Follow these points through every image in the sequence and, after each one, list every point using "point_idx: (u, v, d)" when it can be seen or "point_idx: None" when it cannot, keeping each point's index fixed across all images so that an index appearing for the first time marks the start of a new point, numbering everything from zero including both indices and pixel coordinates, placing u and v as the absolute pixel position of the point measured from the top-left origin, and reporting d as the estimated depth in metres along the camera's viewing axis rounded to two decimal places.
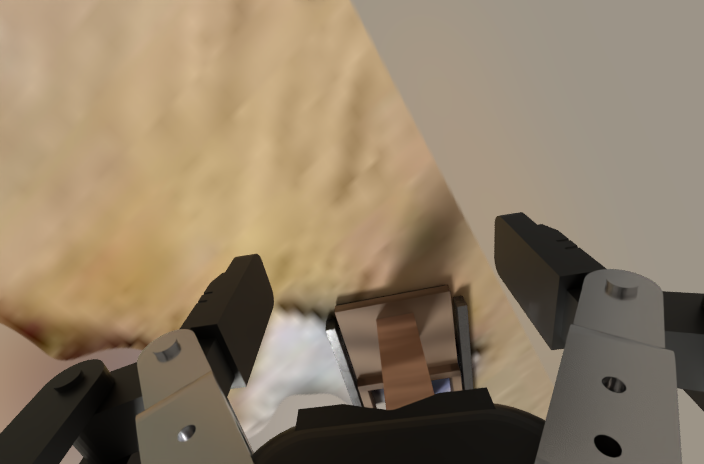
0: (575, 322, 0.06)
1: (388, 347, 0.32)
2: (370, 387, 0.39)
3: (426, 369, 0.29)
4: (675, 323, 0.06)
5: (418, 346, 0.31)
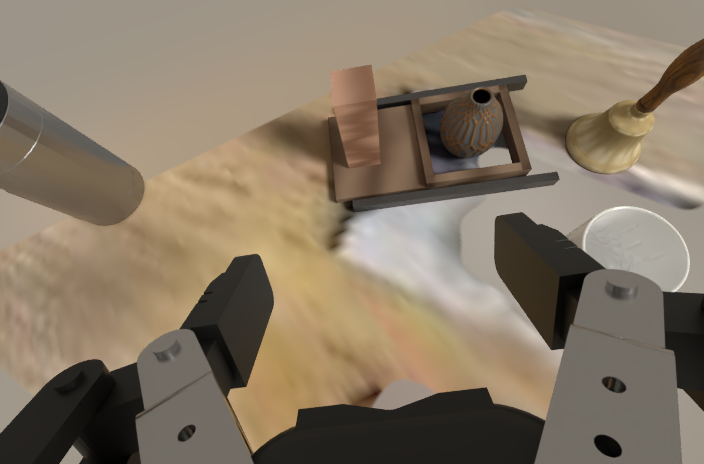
0: (575, 322, 0.06)
1: None
2: (429, 171, 0.39)
3: None
4: (675, 323, 0.06)
5: None
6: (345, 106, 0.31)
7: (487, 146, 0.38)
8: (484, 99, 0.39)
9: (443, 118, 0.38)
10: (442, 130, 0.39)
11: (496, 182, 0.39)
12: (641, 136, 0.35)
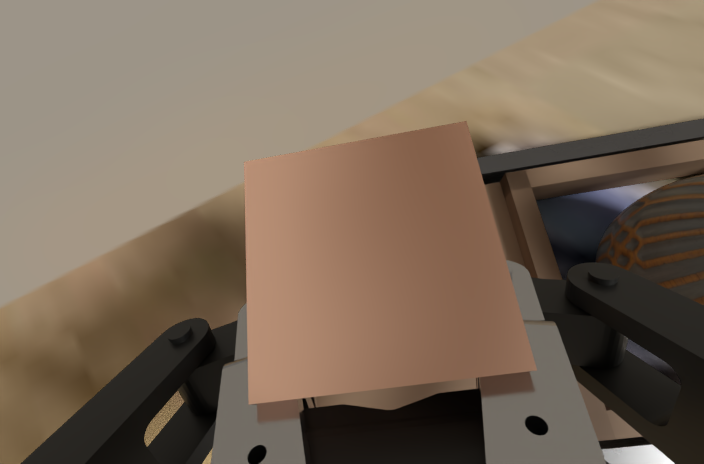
0: None
1: None
2: (590, 398, 0.13)
3: None
4: (539, 304, 0.07)
5: None
6: (328, 392, 0.05)
7: None
8: None
9: (640, 251, 0.13)
10: None
11: None
12: None
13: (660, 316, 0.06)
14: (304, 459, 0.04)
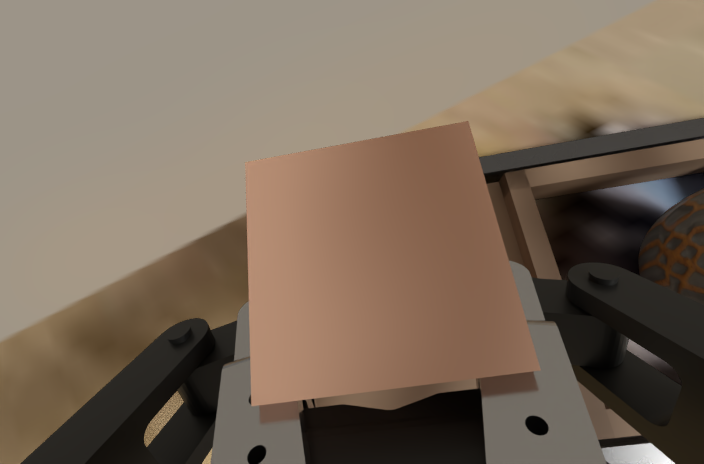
0: None
1: None
2: (590, 397, 0.14)
3: None
4: (540, 304, 0.07)
5: None
6: (331, 393, 0.05)
7: None
8: None
9: (700, 259, 0.12)
10: (693, 292, 0.13)
11: None
12: None
13: (661, 316, 0.06)
14: (304, 459, 0.04)
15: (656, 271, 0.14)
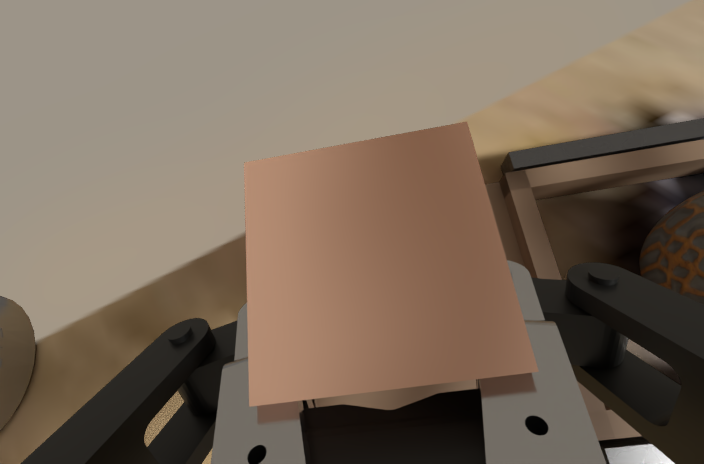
0: None
1: None
2: (590, 398, 0.13)
3: None
4: (540, 304, 0.07)
5: None
6: (329, 394, 0.05)
7: None
8: None
9: (701, 263, 0.12)
10: (695, 295, 0.13)
11: None
12: None
13: (660, 316, 0.06)
14: (304, 459, 0.04)
15: (657, 274, 0.14)
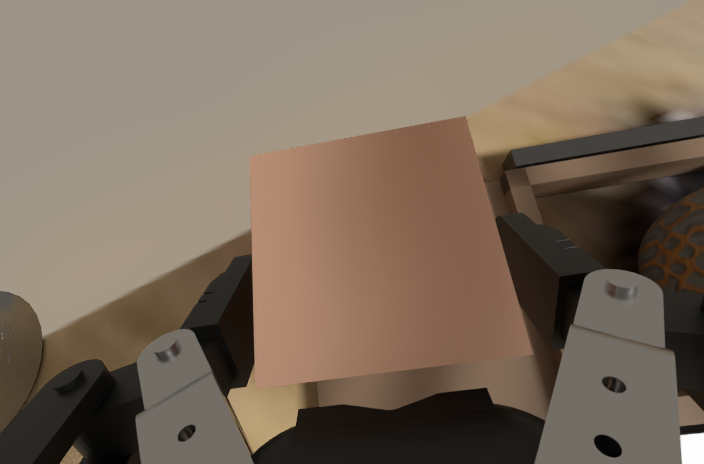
0: (575, 322, 0.06)
1: None
2: None
3: None
4: (675, 323, 0.06)
5: None
6: (331, 377, 0.05)
7: None
8: None
9: (698, 259, 0.12)
10: (691, 291, 0.13)
11: None
12: None
13: None
14: None
15: (655, 271, 0.14)
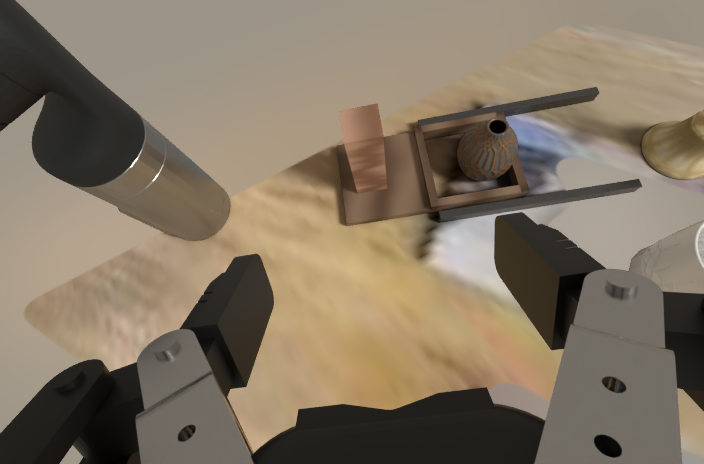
0: (575, 322, 0.06)
1: None
2: (433, 195, 0.42)
3: None
4: (675, 323, 0.06)
5: None
6: (355, 143, 0.34)
7: (506, 169, 0.40)
8: (495, 126, 0.42)
9: (461, 148, 0.41)
10: (461, 159, 0.41)
11: (579, 190, 0.41)
12: None
13: None
14: None
15: (457, 157, 0.43)
